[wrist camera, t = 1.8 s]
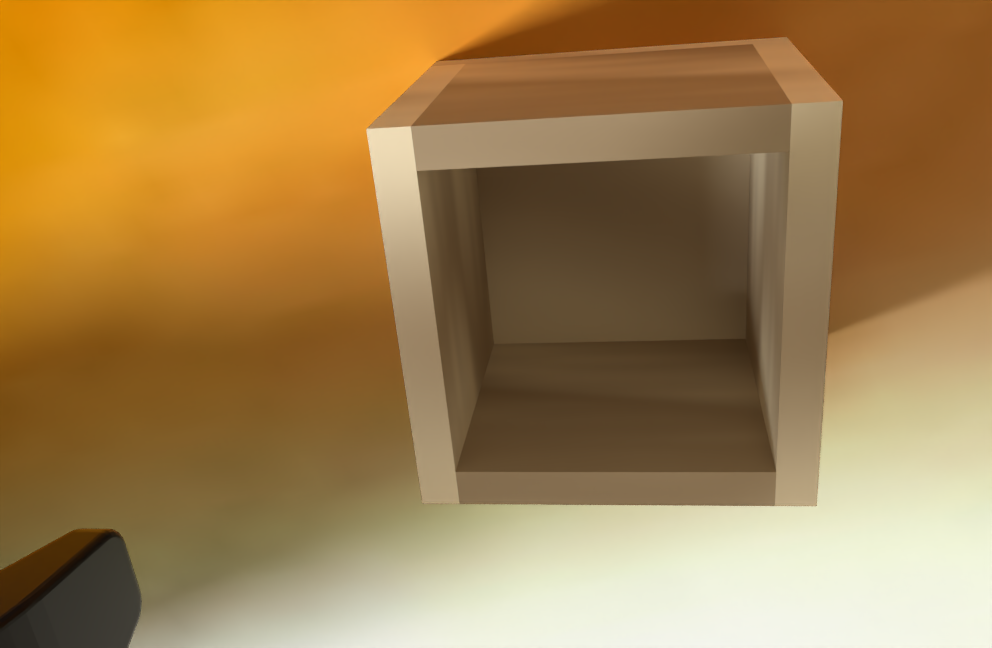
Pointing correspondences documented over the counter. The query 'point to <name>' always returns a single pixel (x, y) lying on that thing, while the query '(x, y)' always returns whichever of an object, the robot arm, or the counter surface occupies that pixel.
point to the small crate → (613, 273)
